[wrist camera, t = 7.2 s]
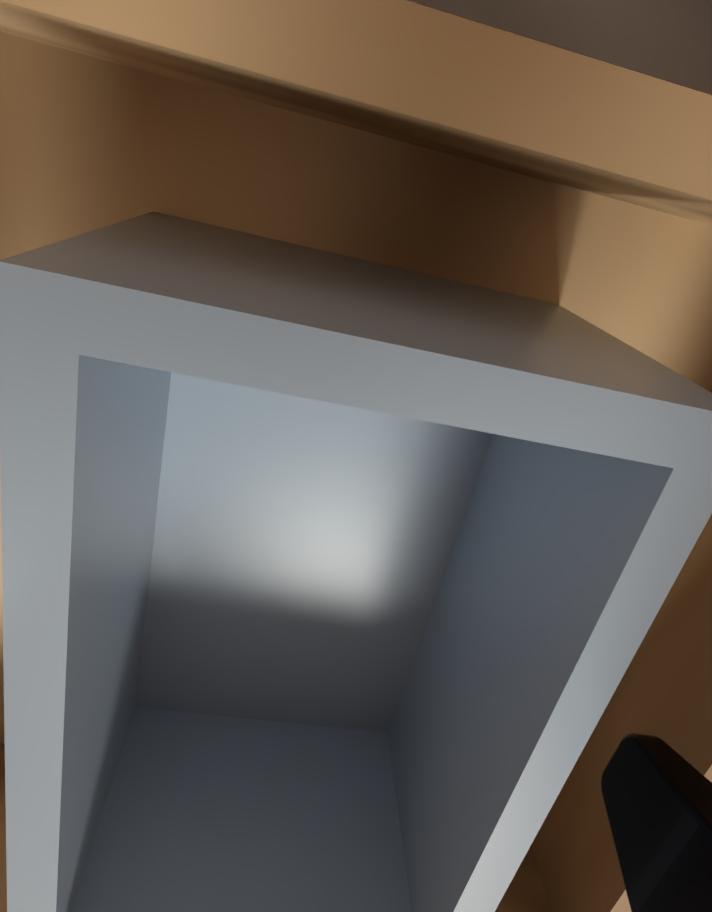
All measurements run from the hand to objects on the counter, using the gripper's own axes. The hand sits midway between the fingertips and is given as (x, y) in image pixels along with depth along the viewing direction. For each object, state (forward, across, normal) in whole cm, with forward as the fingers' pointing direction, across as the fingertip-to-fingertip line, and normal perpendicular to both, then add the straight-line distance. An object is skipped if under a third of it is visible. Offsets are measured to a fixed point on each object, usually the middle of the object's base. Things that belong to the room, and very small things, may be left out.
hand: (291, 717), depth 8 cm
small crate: (+4, 0, 0) cm, 4 cm away
